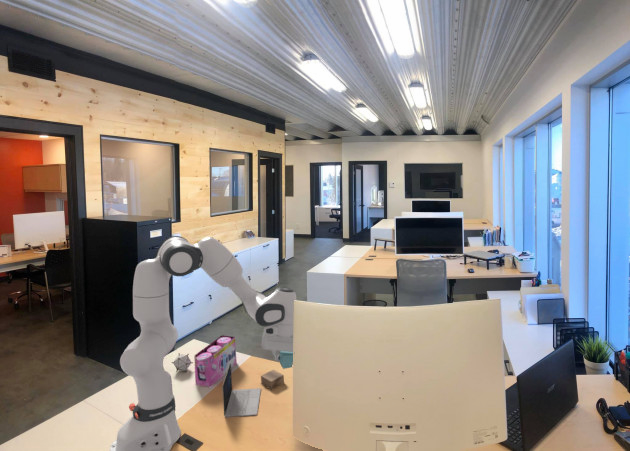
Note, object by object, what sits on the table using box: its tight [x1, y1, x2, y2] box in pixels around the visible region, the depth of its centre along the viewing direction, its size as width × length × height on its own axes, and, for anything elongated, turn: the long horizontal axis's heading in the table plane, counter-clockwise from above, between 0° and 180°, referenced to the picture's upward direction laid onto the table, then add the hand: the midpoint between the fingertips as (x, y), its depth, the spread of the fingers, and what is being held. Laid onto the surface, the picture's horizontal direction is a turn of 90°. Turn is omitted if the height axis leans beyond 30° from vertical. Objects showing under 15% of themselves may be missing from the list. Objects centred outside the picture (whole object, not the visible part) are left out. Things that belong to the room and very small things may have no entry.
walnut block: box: [260, 369, 285, 391], centre depth 167 cm, size 7×7×4 cm
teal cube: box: [278, 351, 293, 370], centre depth 153 cm, size 5×5×5 cm
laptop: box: [221, 363, 262, 418], centre depth 153 cm, size 18×12×13 cm
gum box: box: [193, 334, 237, 388], centre depth 176 cm, size 24×8×14 cm, turn 161°
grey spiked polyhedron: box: [171, 353, 194, 373], centre depth 180 cm, size 9×8×10 cm
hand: (287, 360), depth 153 cm, fingers closed on teal cube, 7 cm apart
